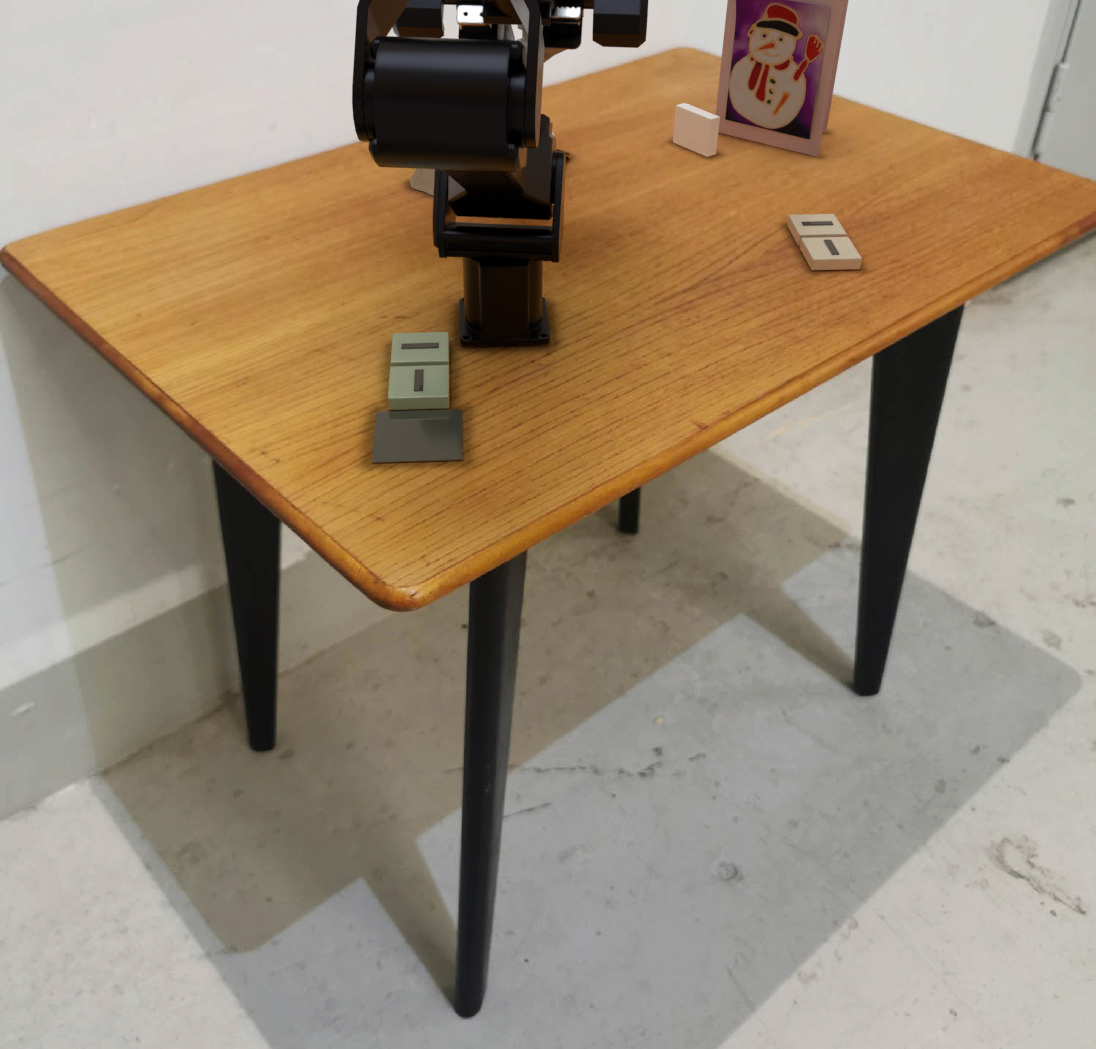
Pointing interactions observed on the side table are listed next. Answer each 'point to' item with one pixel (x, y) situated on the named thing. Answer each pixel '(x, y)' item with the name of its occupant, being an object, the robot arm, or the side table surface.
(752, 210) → the side table surface
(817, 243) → the beige domino tile
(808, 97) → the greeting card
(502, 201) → the robot arm
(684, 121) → the eraser
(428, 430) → the green and grey panel
